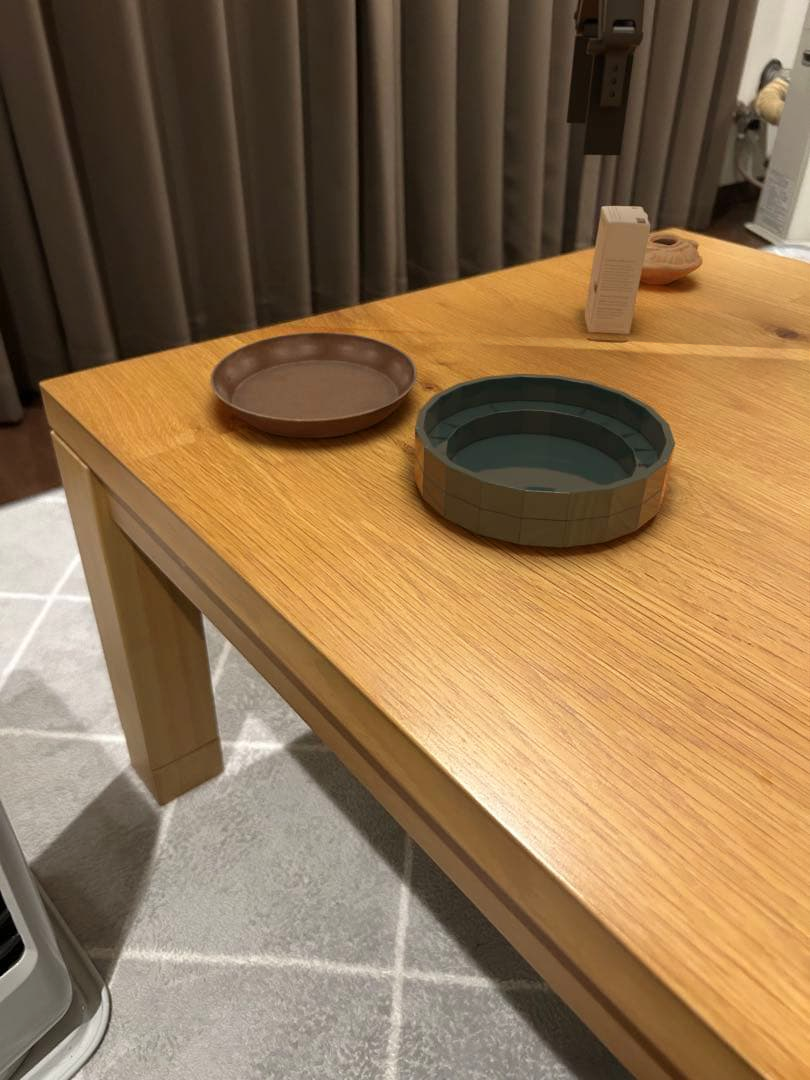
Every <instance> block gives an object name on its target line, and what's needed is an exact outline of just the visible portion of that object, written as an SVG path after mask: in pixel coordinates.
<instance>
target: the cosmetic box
mask: <svg viewBox="0 0 810 1080" xmlns="http://www.w3.org/2000/svg"><path fill="white" fill-rule="evenodd" d="M648 217H649V216H648V214H647V212H645V211H644V207H642V206H636V205H635V206H634V205H633V206H631V205H629V206H627V205H626V206H625V205H604V206H601V208H600V215H599V221H598V222H599V223H598V229H597V234H596V240H595V246H594V254H593V258H592V259H593V260H592V264H591V270H590V271H591V272H590V278H589V284H588V289H587V297H586V301H585V308H584V319H585V325H586V328H587V330H588V332H589V333H605V334H606V333H607V334H622V335H623V334H624V335H628V334H630V331H631V328H632V322H633V318H634V317H633V316H634V313H635V306H636V302H637V297H638V293H639V292H638V291H639V287H640V283H641V282H640V277H641V272H642V267H643V262H644V257H645V252H646V247H647V242H648V237H649V235H650V231H651V223H650V221H649V219H648ZM586 340H587V341H589V342H596V343H609V344H610V343H613V344H614V343H615V344H616V343H617V344H618V343H619V344H622V343H625V344H626V343H628V340H619V339H601V338H599V339H598V338H586Z"/></svg>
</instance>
